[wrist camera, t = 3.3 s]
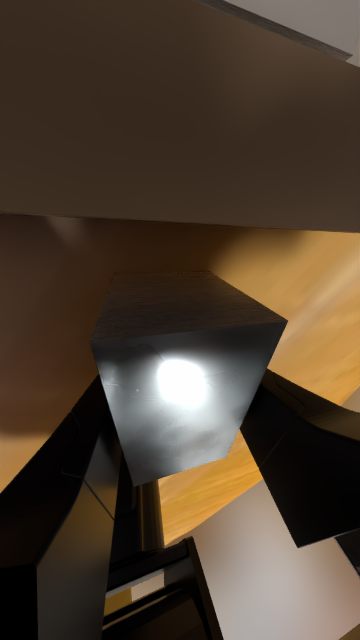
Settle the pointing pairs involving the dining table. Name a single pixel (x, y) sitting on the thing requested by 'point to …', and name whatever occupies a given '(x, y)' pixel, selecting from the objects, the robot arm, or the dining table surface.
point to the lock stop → (180, 366)
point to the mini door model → (304, 22)
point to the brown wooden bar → (173, 118)
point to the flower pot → (117, 601)
